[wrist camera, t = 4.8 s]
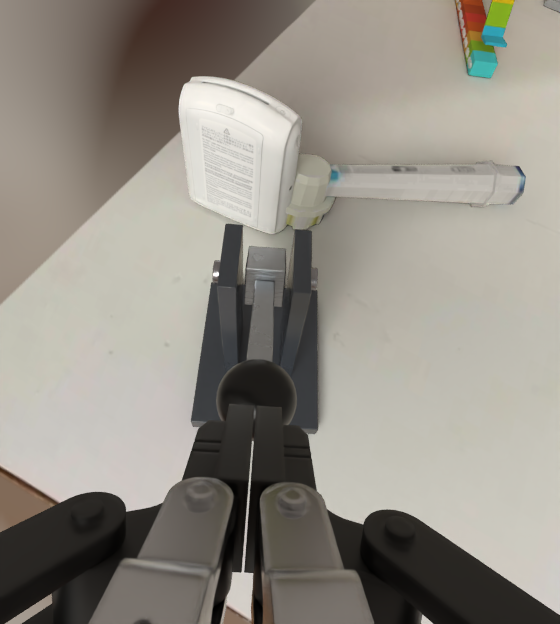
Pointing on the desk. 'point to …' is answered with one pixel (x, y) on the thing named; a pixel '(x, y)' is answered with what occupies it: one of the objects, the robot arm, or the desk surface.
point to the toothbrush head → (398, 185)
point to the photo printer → (239, 151)
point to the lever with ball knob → (260, 342)
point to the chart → (482, 33)
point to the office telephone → (553, 4)
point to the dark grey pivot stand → (236, 327)
